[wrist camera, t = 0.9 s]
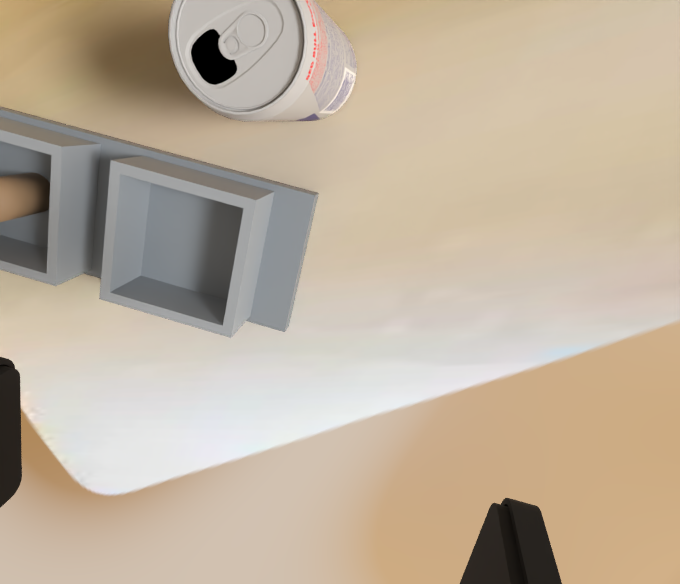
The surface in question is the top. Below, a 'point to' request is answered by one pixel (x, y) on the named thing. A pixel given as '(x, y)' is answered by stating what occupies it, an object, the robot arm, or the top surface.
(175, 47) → the energy drink
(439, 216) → the top surface
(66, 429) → the top surface
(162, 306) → the grey divided tray
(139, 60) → the top surface
